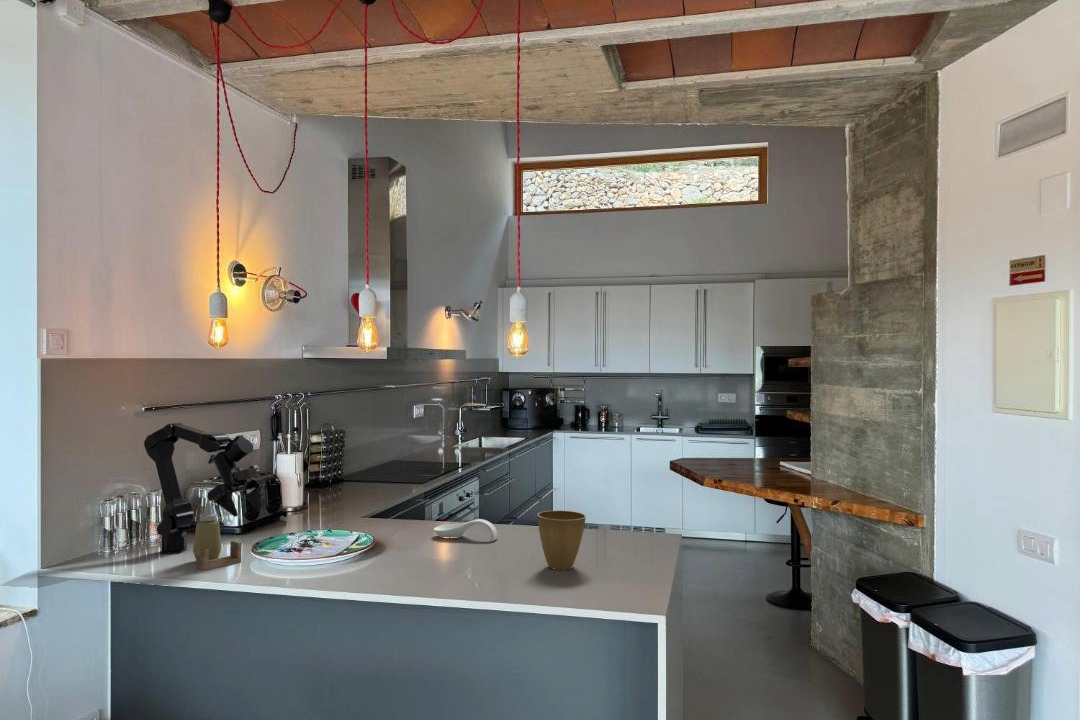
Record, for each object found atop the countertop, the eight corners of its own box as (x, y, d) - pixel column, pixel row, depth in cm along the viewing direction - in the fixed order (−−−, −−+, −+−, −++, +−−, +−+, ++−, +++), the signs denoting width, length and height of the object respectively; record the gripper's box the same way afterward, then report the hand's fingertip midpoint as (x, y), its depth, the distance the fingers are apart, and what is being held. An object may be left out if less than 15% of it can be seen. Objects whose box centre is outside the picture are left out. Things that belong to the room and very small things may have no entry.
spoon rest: (428, 540, 253) (428, 519, 253) (441, 533, 265) (441, 513, 265) (491, 544, 247) (491, 524, 247) (502, 537, 258) (502, 517, 258)
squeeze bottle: (210, 565, 216) (211, 506, 216) (186, 563, 217) (187, 504, 218) (226, 558, 224) (228, 501, 224) (204, 557, 225) (205, 500, 226)
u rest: (197, 567, 213) (197, 547, 213) (233, 559, 223) (233, 540, 223) (205, 570, 211) (205, 549, 211) (241, 562, 220) (241, 542, 220)
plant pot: (550, 575, 208) (550, 521, 209) (529, 563, 222) (529, 512, 222) (594, 570, 215) (594, 517, 215) (571, 558, 228) (571, 508, 228)
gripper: (221, 459, 213) (242, 506, 210) (266, 453, 231) (286, 496, 227) (197, 477, 217) (217, 523, 213) (243, 470, 234) (263, 513, 231)
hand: (247, 513), depth 221 cm, fingers open, 9 cm apart
